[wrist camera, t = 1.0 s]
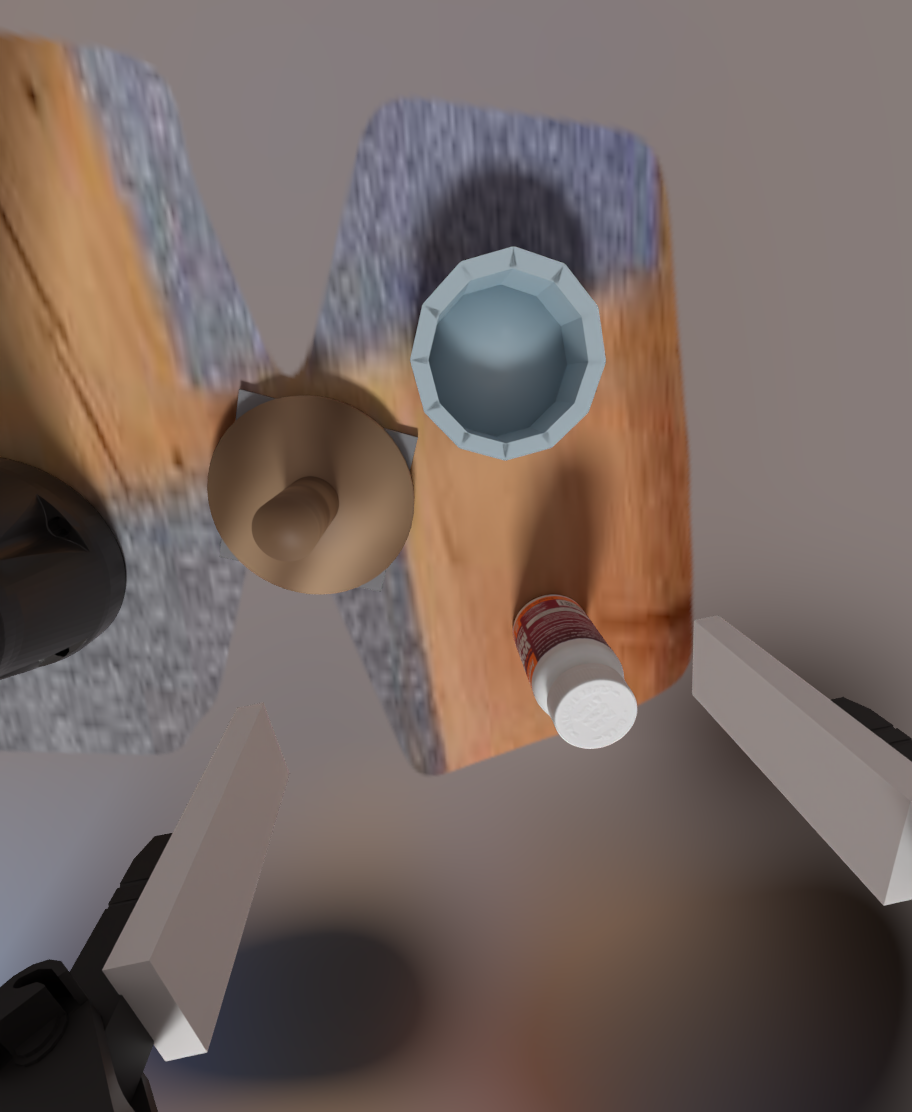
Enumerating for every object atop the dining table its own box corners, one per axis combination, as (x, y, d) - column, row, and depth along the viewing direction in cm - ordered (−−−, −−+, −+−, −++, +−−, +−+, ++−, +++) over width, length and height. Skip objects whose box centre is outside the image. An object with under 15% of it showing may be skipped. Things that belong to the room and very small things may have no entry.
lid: (204, 566, 35) (143, 615, 27) (225, 369, 31) (160, 364, 23) (390, 606, 37) (382, 662, 30) (435, 427, 33) (438, 439, 25)
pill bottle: (499, 613, 38) (527, 700, 28) (567, 578, 38) (624, 654, 27) (531, 670, 40) (569, 771, 30) (596, 637, 40) (659, 729, 29)
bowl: (398, 424, 33) (394, 430, 28) (438, 247, 30) (441, 221, 25) (546, 464, 35) (565, 477, 30) (600, 301, 31) (631, 286, 26)
